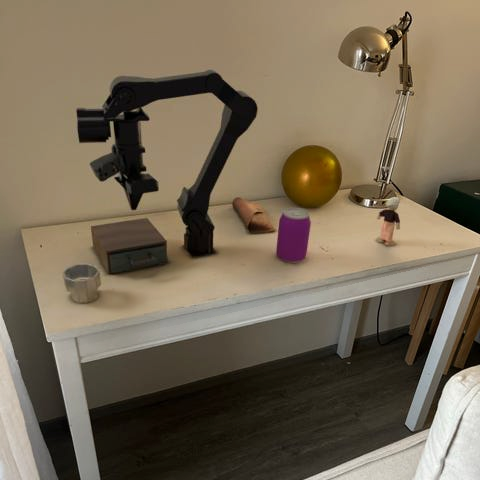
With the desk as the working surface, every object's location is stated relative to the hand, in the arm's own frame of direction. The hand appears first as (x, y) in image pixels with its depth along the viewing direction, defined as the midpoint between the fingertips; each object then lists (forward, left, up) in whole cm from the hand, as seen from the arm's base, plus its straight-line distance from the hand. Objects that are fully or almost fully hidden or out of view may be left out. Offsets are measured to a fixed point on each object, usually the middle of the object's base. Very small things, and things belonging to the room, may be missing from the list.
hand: (133, 209), depth 118 cm
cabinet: (+2, -1, -12) cm, 12 cm away
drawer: (+2, +3, -11) cm, 12 cm away
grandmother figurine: (-64, +17, -12) cm, 68 cm away
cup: (+16, +14, -12) cm, 24 cm away
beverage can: (-35, +15, -12) cm, 40 cm away
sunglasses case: (-37, -9, -12) cm, 40 cm away
